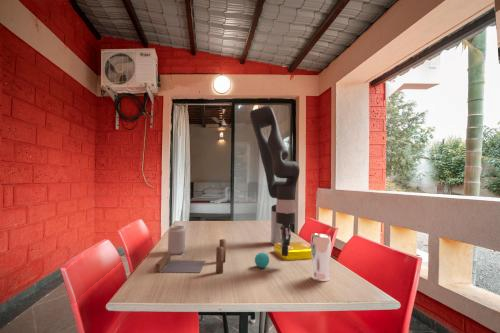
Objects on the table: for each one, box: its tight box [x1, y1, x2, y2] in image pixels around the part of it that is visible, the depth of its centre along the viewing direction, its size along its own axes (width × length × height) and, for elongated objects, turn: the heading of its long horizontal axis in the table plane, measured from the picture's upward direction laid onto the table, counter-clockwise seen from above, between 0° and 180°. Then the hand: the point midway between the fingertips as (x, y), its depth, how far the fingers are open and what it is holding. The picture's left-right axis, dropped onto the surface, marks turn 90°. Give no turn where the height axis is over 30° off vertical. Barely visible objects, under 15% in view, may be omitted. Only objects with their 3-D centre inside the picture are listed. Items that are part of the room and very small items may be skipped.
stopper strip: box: [155, 252, 172, 274], centre depth 106 cm, size 2×14×3 cm, turn 1°
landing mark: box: [160, 259, 206, 274], centre depth 106 cm, size 14×14×1 cm
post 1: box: [218, 238, 227, 264], centre depth 113 cm, size 3×3×9 cm
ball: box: [254, 252, 270, 268], centre depth 107 cm, size 6×6×6 cm
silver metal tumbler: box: [310, 233, 332, 282], centre depth 96 cm, size 7×7×15 cm
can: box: [167, 225, 186, 256], centre depth 125 cm, size 8×8×12 cm
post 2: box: [215, 246, 224, 275], centre depth 100 cm, size 3×3×9 cm
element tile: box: [273, 241, 312, 261], centre depth 125 cm, size 15×15×5 cm
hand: (284, 255), depth 107 cm, fingers closed
